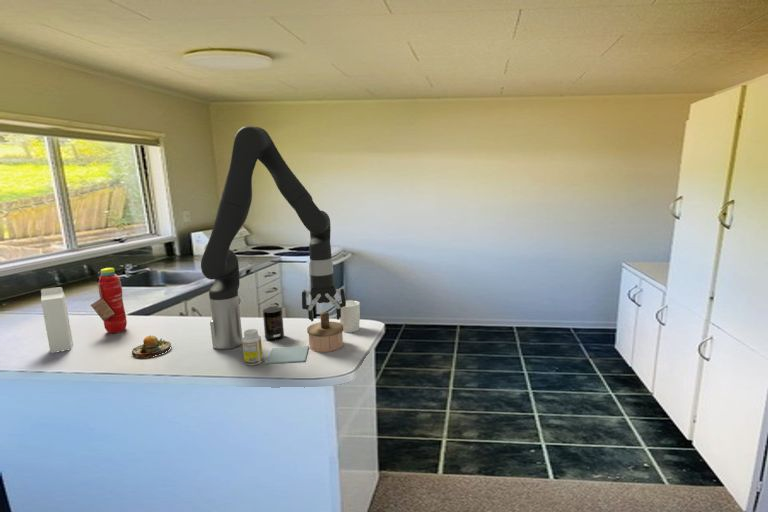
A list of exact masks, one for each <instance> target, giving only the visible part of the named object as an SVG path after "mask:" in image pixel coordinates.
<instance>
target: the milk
mask: <svg viewBox="0 0 768 512" xmlns="http://www.w3.org/2000/svg"><path fill="white" fill-rule="evenodd" d="M40 294H41V297H40V302H41V308H42V313H43V314H42V315H43V319H44V325H45V326H44V327H45V331H46V336H47V342H48V347H49V353H50V354H53V353H52V352H56V353H58V352H57V351H61V352H63V351H62V350H67V351H69V350H68V349H71V348H72V349H73V346H74V340H73V335H72V330H71V324H70V318H69V312H68V306H67V300H66V295H65V292H64V289H63V287H61V286H58V287H49V288H48V287H47V288H42V289H41V290H40ZM72 349H71V350H72Z"/></svg>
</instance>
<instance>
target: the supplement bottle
mask: <svg viewBox="0 0 768 512" xmlns="http://www.w3.org/2000/svg"><path fill="white" fill-rule="evenodd" d="M243 336H244V337H243V338H242V350H243V351H242V352H243V358H244V359H243V361H244V364H245V365H247V366H257V365H260V364H261V363H263V361H264V358H263V357H264V356H263V348H262V347H263V346H262V337H261V335H259V332H258V329H255V328H251V329H246V330H244V333H243Z"/></svg>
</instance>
